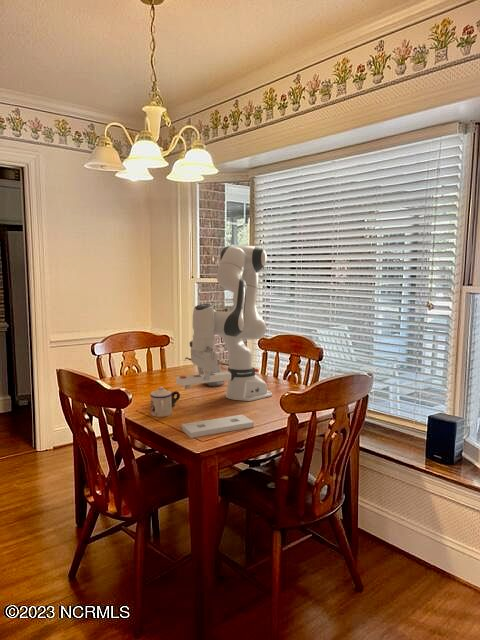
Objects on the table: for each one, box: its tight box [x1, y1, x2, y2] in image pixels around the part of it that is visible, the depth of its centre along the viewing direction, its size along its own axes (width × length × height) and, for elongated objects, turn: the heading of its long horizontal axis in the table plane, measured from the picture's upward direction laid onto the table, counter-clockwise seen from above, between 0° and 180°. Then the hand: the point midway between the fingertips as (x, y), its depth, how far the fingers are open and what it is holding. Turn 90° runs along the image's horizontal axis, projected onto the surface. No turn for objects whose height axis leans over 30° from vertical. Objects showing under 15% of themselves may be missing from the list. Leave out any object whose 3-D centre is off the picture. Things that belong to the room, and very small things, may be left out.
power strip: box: [175, 370, 231, 390], centre depth 183 cm, size 22×4×5 cm, turn 116°
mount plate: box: [181, 414, 255, 439], centre depth 175 cm, size 26×10×2 cm, turn 116°
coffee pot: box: [184, 356, 225, 387], centre depth 240 cm, size 21×12×15 cm, turn 96°
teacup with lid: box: [149, 386, 173, 418], centre depth 190 cm, size 12×9×12 cm
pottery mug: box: [167, 389, 181, 408], centre depth 205 cm, size 12×10×8 cm
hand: (204, 378), depth 183 cm, fingers closed on power strip, 4 cm apart
